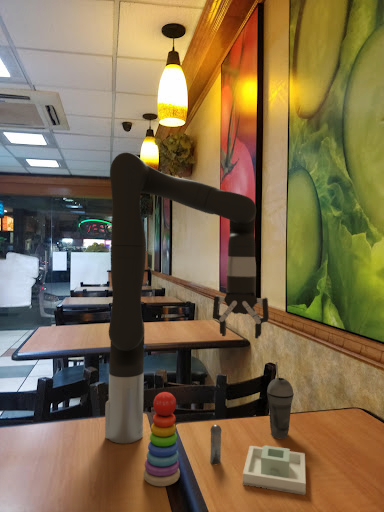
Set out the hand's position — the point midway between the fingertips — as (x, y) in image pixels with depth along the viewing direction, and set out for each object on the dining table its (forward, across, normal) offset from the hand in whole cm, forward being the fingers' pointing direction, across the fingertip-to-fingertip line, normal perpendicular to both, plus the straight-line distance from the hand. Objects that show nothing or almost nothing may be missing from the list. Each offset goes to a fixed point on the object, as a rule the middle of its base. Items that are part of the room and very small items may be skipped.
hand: (240, 336), depth 103 cm
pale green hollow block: (+28, -10, +11) cm, 31 cm away
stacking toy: (+28, +14, +20) cm, 37 cm away
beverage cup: (+28, -10, -9) cm, 31 cm away
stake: (+28, +4, +10) cm, 30 cm away
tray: (+28, -10, +11) cm, 32 cm away
